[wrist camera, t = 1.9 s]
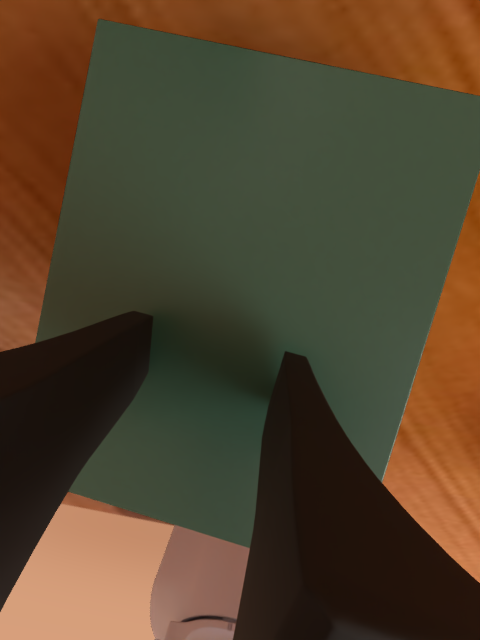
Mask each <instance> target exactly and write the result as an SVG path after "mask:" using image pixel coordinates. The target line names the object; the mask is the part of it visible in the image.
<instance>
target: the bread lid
mask: <svg viewBox="0 0 480 640" xmlns="http://www.w3.org/2000/svg"><path fill="white" fill-rule="evenodd" d="M479 171H480V96H478V95H473V94H468V93H463V92H458V91H453V90H448V89H443V88H438V87H433V86H428V85H423V84H418V83H413V82H408V81H404V80H399V79H394V78H389V77H384V76H379V75H374V74H369V73H364V72H359V71H354V70H349V69H344V68H339V67H334V66H329V65H325V64H320V63H315V62H310V61H305V60H300V59H295V58H290V57H285V56H280V55H275V54H270V53H265V52H260V51H255V50H251V49H246V48H241V47H236V46H231V45H226V44H221V43H216V42H211V41H206V40H201V39H196V38H191V37H186V36H181V35H176V34H172V33H167V32H162V31H157V30H152V29H147V28H142V27H137V26H132V25H127V24H122V23H117V22H112V21H107V20H102V19H98V22H97V27H96V32H95V37H94V43H93V48H92V53H91V58H90V63H89V68H88V74H87V79H86V84H85V89H84V94H83V99H82V104H81V110H80V115H79V120H78V125H77V130H76V135H75V141H74V146H73V151H72V156H71V161H70V166H69V171H68V177H67V182H66V187H65V192H64V197H63V202H62V208H61V213H60V218H59V223H58V228H57V233H56V238H55V244H54V249H53V254H52V259H51V264H50V269H49V275H48V280H47V285H46V290H45V295H44V300H43V305H42V311H41V316H40V321H39V326H38V331H37V336H36V342H35V343H37V342H41V341H44V340H47V339H50V338H53V337H57V336H60V335H63V334H66V333H69V332H72V331H75V330H78V329H81V328H84V327H87V326H89V325H92V324H95V323H98V322H101V321H103V320H106V319H109V318H112V317H115V316H118V315H120V314H123V313H127V312H130V311H137V312H141V313H145V314H148V315H152V316H153V327H152V338H151V349H150V361H149V372H148V374H147V376H146V378H145V380H144V382H143V383H142V385H141V387H140V389H139V391H138V392H137V394H136V396H135V398H134V399H133V401H132V402H131V404H130V405H129V406H128V408H127V409H126V410H125V412H124V413H123V415H122V416H121V417H120V419H119V420H118V421H117V423H116V424H115V425H114V427H113V428H112V429H111V431H110V432H109V433H108V435H107V436H106V437H105V439H104V440H103V441H102V443H101V444H100V445H99V447H98V448H97V449H96V451H95V452H94V453H93V455H92V456H91V457H90V459H89V460H88V461H87V463H86V464H85V466H84V467H83V469H82V470H81V472H80V473H79V474H78V476H77V478H76V479H75V481H74V483H73V484H72V486H71V488H70V489H69V491H68V492H71V493H74V494H78V495H81V496H84V497H87V498H90V499H94V500H97V501H100V502H103V503H106V504H110V505H113V506H116V507H119V508H122V509H126V510H129V511H132V512H135V513H138V514H142V515H145V516H148V517H151V518H154V519H158V520H161V521H164V522H167V523H170V524H174V525H177V526H180V527H183V528H186V529H190V530H193V531H196V532H199V533H202V534H206V535H209V536H212V537H215V538H218V539H222V540H225V541H228V542H231V543H234V544H238V545H241V546H244V547H247V548H250V545H251V539H252V533H253V527H254V519H255V511H256V500H257V488H258V477H259V465H260V454H261V443H262V434H263V429H264V424H265V420H266V415H267V410H268V405H269V402H270V399H271V395H272V392H273V389H274V386H275V382H276V379H277V376H278V372H279V369H280V366H281V363H282V359H283V356H284V353H285V351H287V352H291V353H294V354H298V355H302V356H306V357H307V359H308V361H309V363H310V365H311V368H312V370H313V373H314V375H315V377H316V379H317V382H318V384H319V386H320V388H321V390H322V392H323V394H324V396H325V398H326V400H327V402H328V404H329V406H330V408H331V410H332V411H333V413H334V415H335V417H336V419H337V420H338V422H339V424H340V425H341V427H342V429H343V430H344V432H345V434H346V435H347V437H348V438H349V440H350V441H351V443H352V444H353V446H354V447H355V448H356V450H357V451H358V452H359V454H360V455H361V457H362V458H363V459H364V461H365V462H366V463H367V465H368V466H369V467H370V469H371V470H372V471H373V473H374V474H375V475H376V476H377V478H378V479H379V480H380V481H381V483H382V481H383V478H384V475H385V472H386V468H387V465H388V462H389V459H390V456H391V452H392V449H393V446H394V443H395V440H396V436H397V433H398V430H399V427H400V424H401V420H402V417H403V414H404V411H405V408H406V404H407V401H408V398H409V395H410V392H411V388H412V385H413V382H414V379H415V376H416V373H417V369H418V366H419V363H420V360H421V357H422V353H423V350H424V347H425V344H426V341H427V337H428V334H429V331H430V328H431V325H432V321H433V318H434V315H435V312H436V309H437V305H438V302H439V299H440V296H441V293H442V289H443V286H444V283H445V280H446V277H447V273H448V270H449V267H450V264H451V261H452V257H453V254H454V251H455V248H456V245H457V241H458V238H459V235H460V232H461V229H462V225H463V222H464V219H465V216H466V213H467V209H468V206H469V203H470V200H471V197H472V193H473V190H474V187H475V184H476V181H477V177H478V174H479Z"/></svg>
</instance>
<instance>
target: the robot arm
mask: <svg viewBox="0 0 480 640" xmlns="http://www.w3.org/2000/svg"><path fill="white" fill-rule="evenodd" d="M152 327H153V316H152V315H148V314H145V313H141V312H137V311H130V312H127V313H123V314H120V315H118V316H115V317H112V318H109V319H106V320H103V321H101V322H98V323H95V324H92V325H89V326H87V327H84V328H81V329H78V330H75V331H72V332H69V333H66V334H63V335H60V336H57V337H53V338H50V339H47V340H44V341H41V342H37V343H34V344H30V345H27V346H23V347H19V348H15V349H11V350H7V351H2V352H0V611H1V609H2V608H3V605H4V604H5V602H6V600H7V598H8V596H9V594H10V592H11V590H12V588H13V587H14V585H15V583H16V581H17V580H18V578H19V576H20V574H21V572H22V571H23V569H24V567H25V565H26V563H27V562H28V560H29V558H30V556H31V554H32V552H33V550H34V549H35V547H36V545H37V543H38V542H39V540H40V538H41V536H42V535H43V533H44V531H45V530H46V528H47V526H48V524H49V523H50V521H51V519H52V518H53V516H54V514H55V512H56V511H57V509H58V507H59V506H60V504H61V502H62V501H63V499H64V497H65V496H66V494H67V492H68V491H69V489H70V488H71V486H72V484H73V483H74V481H75V479H76V478H77V476H78V474H79V473H80V472H81V470H82V469H83V467H84V466H85V464H86V463H87V461H88V460H89V459H90V457H91V456H92V455H93V453H94V452H95V451H96V449H97V448H98V447H99V445H100V444H101V443H102V441H103V440H104V439H105V437H106V436H107V435H108V433H109V432H110V431H111V429H112V428H113V427H114V425H115V424H116V423H117V421H118V420H119V419H120V417H121V416H122V415H123V413H124V412H125V410H126V409H127V408H128V406H129V405H130V404H131V402H132V401H133V399H134V398H135V396H136V394H137V392H138V391H139V389H140V387H141V385H142V383H143V382H144V380H145V378H146V376H147V374H148V372H149V361H150V349H151V338H152ZM150 620H151V626H152V630H153V634H154V636H155V638H156V639H155V640H480V583H479V582H478V581H477V580H475V579H474V578H473V577H472V576H471V575H470V574H469V573H468V572H467V571H466V570H464V569H463V568H462V567H461V566H460V565H459V564H458V563H457V562H456V561H455V560H454V559H453V558H452V557H451V556H449V555H448V554H447V553H446V552H445V551H444V550H443V549H442V547H441V546H440V545H439V544H438V543H437V542H436V541H435V540H434V539H433V538H432V537H431V536H430V535H429V534H428V533H427V532H426V531H425V530H424V529H423V528H422V527H421V526H420V525H419V524H418V523H417V522H416V521H415V520H414V519H413V518H412V517H411V516H410V514H409V513H408V512H407V511H406V510H405V509H404V508H403V507H402V506H401V505H400V503H399V502H398V501H397V500H396V499H395V498H394V496H393V495H392V494H391V493H390V492H389V491H388V489H387V488H386V487H385V486H384V485H383V484H382V483H381V481H380V480H379V479H378V478H377V476H376V475H375V474H374V473H373V471H372V470H371V469H370V467H369V466H368V465H367V463H366V462H365V461H364V459H363V458H362V457H361V455H360V454H359V452H358V451H357V450H356V448H355V447H354V446H353V444H352V443H351V441H350V440H349V438H348V437H347V435H346V434H345V432H344V430H343V429H342V427H341V425H340V424H339V422H338V420H337V419H336V417H335V415H334V413H333V411H332V410H331V408H330V406H329V404H328V402H327V400H326V398H325V396H324V394H323V392H322V390H321V388H320V386H319V384H318V382H317V379H316V377H315V375H314V373H313V370H312V368H311V365H310V363H309V361H308V359H307V357H306V356H302V355H298V354H294V353H291V352H287V351H285V353H284V356H283V359H282V363H281V366H280V369H279V372H278V376H277V379H276V382H275V386H274V389H273V392H272V395H271V399H270V402H269V405H268V410H267V415H266V420H265V424H264V429H263V434H262V443H261V454H260V465H259V477H258V488H257V500H256V511H255V519H254V527H253V533H252V539H251V545H250V548H247V547H244V546H241V545H238V544H234V543H231V542H228V541H225V540H222V539H218V538H215V537H212V536H209V535H206V534H202V533H199V532H196V531H193V530H190V529H186V528H183V527H180V526H177V525H175V526H174V529H173V531H172V534H171V537H170V540H169V542H168V545H167V548H166V551H165V553H164V556H163V559H162V561H161V564H160V567H159V570H158V572H157V575H156V578H155V581H154V584H153V588H152V594H151V602H150Z"/></svg>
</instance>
